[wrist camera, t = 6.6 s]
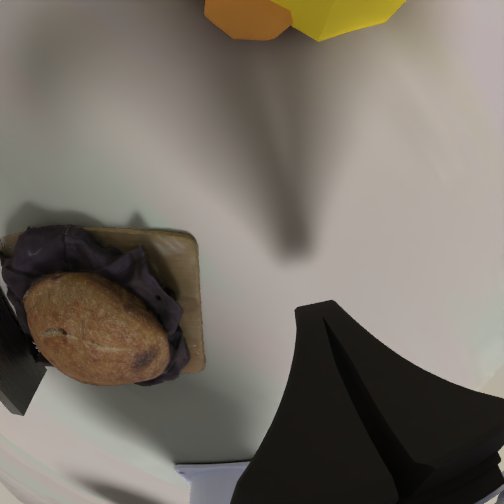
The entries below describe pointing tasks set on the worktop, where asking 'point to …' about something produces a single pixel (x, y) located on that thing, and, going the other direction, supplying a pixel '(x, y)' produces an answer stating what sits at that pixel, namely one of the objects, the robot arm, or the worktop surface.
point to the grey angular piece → (16, 366)
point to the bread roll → (107, 302)
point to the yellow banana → (297, 16)
